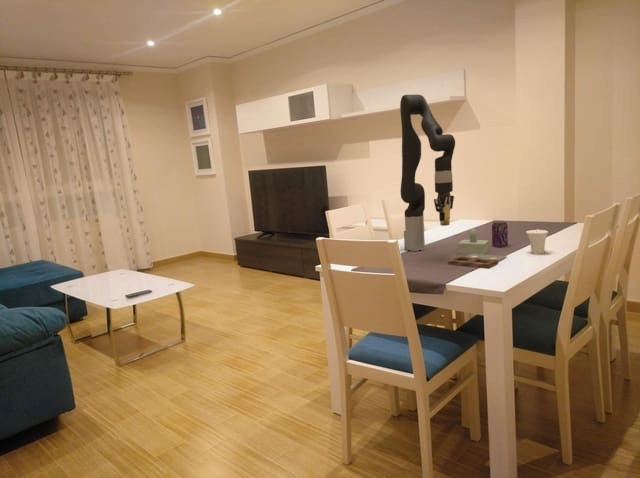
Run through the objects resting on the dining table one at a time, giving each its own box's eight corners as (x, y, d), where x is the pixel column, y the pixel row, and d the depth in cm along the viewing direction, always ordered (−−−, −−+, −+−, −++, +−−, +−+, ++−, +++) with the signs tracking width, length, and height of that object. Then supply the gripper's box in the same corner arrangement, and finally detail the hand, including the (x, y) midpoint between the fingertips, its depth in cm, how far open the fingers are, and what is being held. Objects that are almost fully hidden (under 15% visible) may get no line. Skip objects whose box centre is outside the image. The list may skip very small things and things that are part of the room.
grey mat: (460, 259, 205) (460, 258, 204) (471, 254, 212) (471, 253, 212) (496, 263, 194) (496, 261, 193) (506, 257, 201) (506, 256, 201)
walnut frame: (448, 264, 198) (448, 260, 198) (458, 259, 205) (458, 256, 205) (488, 268, 186) (488, 264, 186) (498, 263, 192) (498, 260, 192)
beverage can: (498, 248, 221) (497, 223, 219) (489, 245, 228) (488, 221, 225) (510, 246, 223) (510, 221, 220) (501, 244, 229) (501, 220, 227)
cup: (548, 250, 207) (549, 229, 206) (547, 255, 200) (547, 232, 198) (527, 250, 212) (527, 228, 210) (524, 254, 204) (524, 232, 202)
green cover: (458, 253, 217) (457, 230, 216) (463, 249, 225) (462, 227, 223) (484, 254, 211) (484, 231, 209) (489, 250, 218) (488, 227, 216)
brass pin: (438, 225, 205) (437, 205, 203) (443, 223, 207) (443, 204, 206) (445, 225, 202) (445, 205, 200) (451, 224, 204) (451, 204, 203)
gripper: (443, 179, 209) (444, 217, 212) (427, 182, 199) (428, 222, 202) (459, 179, 203) (460, 218, 207) (443, 182, 193) (444, 222, 197)
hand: (444, 219), depth 204 cm, fingers closed on brass pin, 4 cm apart
